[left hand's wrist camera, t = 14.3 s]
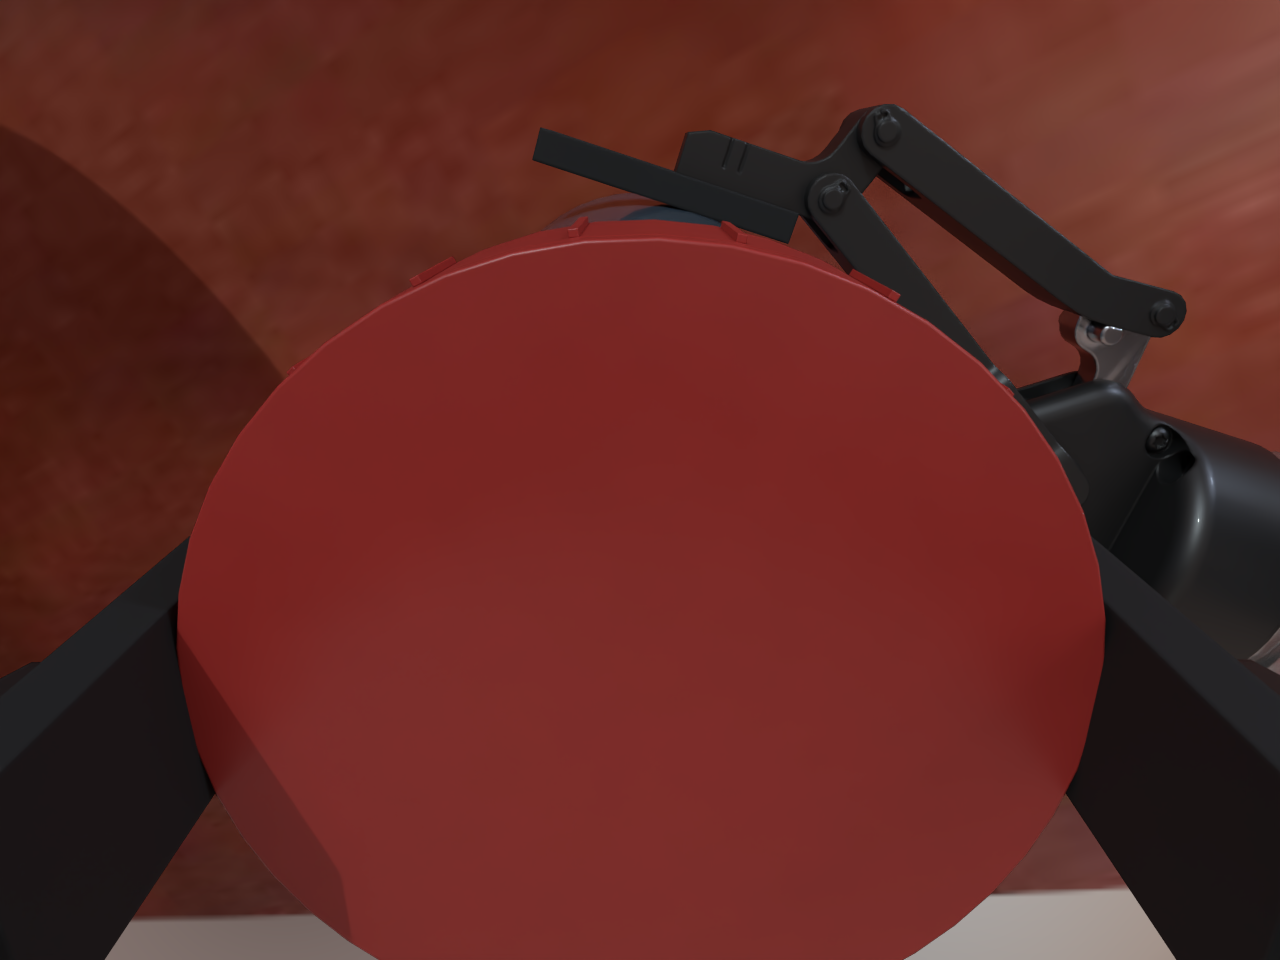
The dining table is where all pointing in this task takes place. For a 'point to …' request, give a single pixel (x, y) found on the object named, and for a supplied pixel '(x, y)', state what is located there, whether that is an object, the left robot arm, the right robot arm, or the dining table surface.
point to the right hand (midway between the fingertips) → (491, 348)
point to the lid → (640, 612)
